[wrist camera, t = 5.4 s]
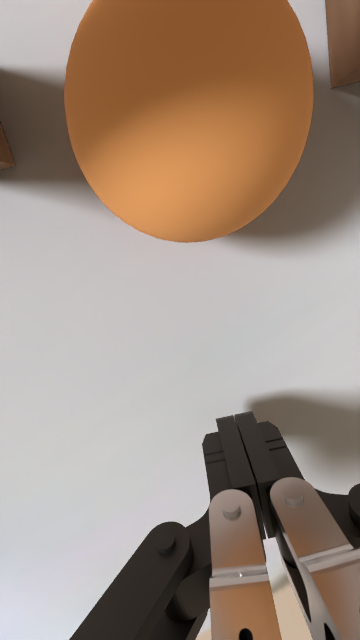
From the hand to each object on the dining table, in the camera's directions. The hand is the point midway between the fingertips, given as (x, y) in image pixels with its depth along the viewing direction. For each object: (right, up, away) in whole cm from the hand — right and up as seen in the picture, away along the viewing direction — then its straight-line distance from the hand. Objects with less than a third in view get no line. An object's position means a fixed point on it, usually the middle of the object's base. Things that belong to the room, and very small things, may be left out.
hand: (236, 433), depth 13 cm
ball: (-2, +10, -5) cm, 11 cm away
